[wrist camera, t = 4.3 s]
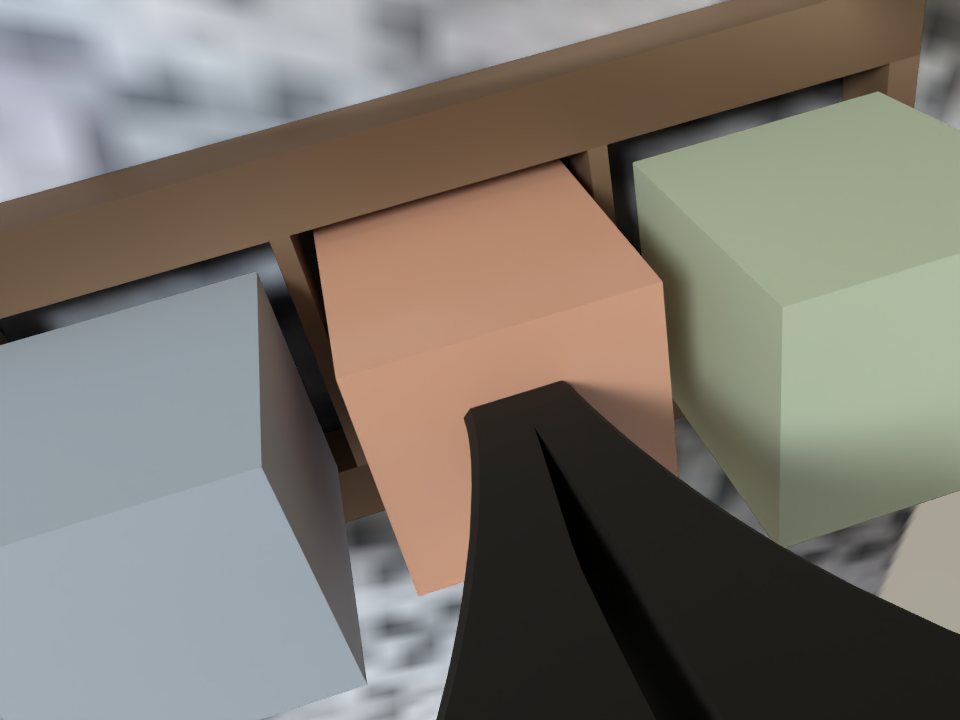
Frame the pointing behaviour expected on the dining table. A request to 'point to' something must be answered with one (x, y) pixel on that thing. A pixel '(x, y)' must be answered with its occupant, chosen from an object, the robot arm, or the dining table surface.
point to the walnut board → (440, 156)
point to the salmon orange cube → (485, 337)
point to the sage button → (815, 308)
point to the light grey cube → (169, 520)
